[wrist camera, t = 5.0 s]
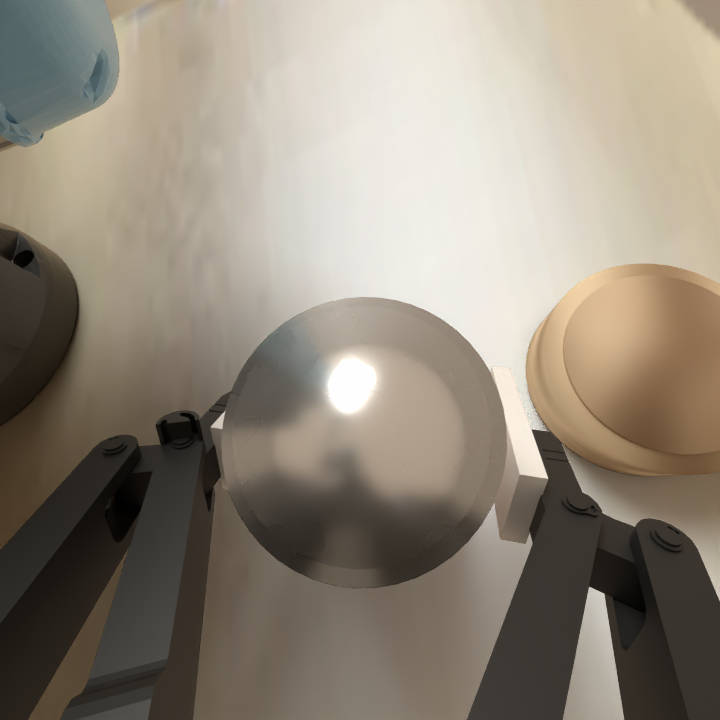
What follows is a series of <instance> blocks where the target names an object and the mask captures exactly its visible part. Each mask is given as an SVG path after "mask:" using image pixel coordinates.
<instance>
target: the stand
mask: <svg viewBox="0 0 720 720" xmlns="http://www.w3.org/2000/svg"><path fill="white" fill-rule="evenodd" d="M526 379H527V385H528V390H529V393H530V396H531V399H532V402H533V404H534V406H535V408H536V410H537V412H538V414H539V415H540V417H541V418H542V420H543V422H544V423H545V424H546V426H547V427H548V428H549V429H550V431H551V432H552V433H553V434H554V435H555V436H556V437H557V438H558V439H559V440H560V441H561V442H562V443H563V444H564V445H565V446H567V447H568V448H569V449H571V450H572V451H573V452H575V453H576V454H578V455H579V456H581V457H583V458H584V459H586V460H588V461H590V462H592V463H594V464H596V465H598V466H600V467H603V468H606V469H609V470H612V471H615V472H620V473H625V474H629V475H640V476H657V475H690V474H708V473H713V472H719V471H720V284H718V283H717V282H715V281H713V280H711V279H709V278H706V277H704V276H702V275H699V274H697V273H694V272H691V271H688V270H685V269H681V268H676V267H672V266H667V265H658V264H630V265H622V266H618V267H613V268H609V269H606V270H603V271H600V272H598V273H596V274H594V275H591V276H589V277H587V278H586V279H584V280H583V281H581V282H580V283H578V284H577V285H576V286H574V287H573V288H572V289H571V290H570V291H569V292H568V293H567V294H566V295H565V296H564V297H563V298H562V300H561V301H560V302H559V303H558V304H557V305H556V307H555V308H554V309H553V310H552V311H551V313H550V314H549V315H548V316H547V317H546V318H545V320H544V321H543V322H542V323H541V324H540V326H539V327H538V329H537V330H536V332H535V333H534V335H533V338H532V340H531V342H530V345H529V348H528V352H527V358H526Z"/></svg>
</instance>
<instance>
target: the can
mask: <svg viewBox="0 0 720 720" xmlns="http://www.w3.org/2000/svg"><path fill="white" fill-rule="evenodd" d="M221 447H222V463H223V468H224V474H225V480H226V483H227V486H228V489H229V492H230V496H231V498H232V501H233V503H234V505H235V507H236V509H237V511H238V513H239V516H240V517H241V519H242V520H243V522H244V523H245V525H246V526H247V528H248V530H249V531H250V532H251V534H252V535H253V536H254V537H255V538H256V539H257V541H258V542H259V543H260V544H261V545H262V546H263V547H264V548H265V549H266V550H267V551H268V552H269V553H271V554H272V555H273V556H274V557H275V558H276V559H277V560H279V561H280V562H282V563H283V564H285V565H286V566H288V567H289V568H291V569H293V570H294V571H296V572H298V573H300V574H302V575H305V576H307V577H309V578H311V579H313V580H317V581H320V582H324V583H327V584H330V585H334V586H342V587H349V588H377V587H383V586H389V585H395V584H399V583H402V582H405V581H408V580H411V579H414V578H417V577H419V576H421V575H423V574H425V573H427V572H429V571H431V570H433V569H435V568H436V567H438V566H439V565H441V564H442V563H443V562H445V561H446V560H448V559H449V558H451V557H452V556H453V555H454V554H455V553H456V552H458V551H459V550H460V549H461V548H462V547H463V546H464V545H465V544H466V543H467V542H468V541H469V540H470V539H471V537H472V536H473V535H474V533H475V532H476V531H477V530H478V528H479V527H480V526H481V525H482V523H483V521H484V519H485V518H486V516H487V514H488V513H489V511H490V509H491V507H492V505H493V503H494V500H495V498H496V496H497V493H498V491H499V488H500V485H501V481H502V477H503V473H504V469H505V462H506V453H507V426H506V420H505V414H504V408H503V404H502V401H501V398H500V395H499V391H498V388H497V386H496V384H495V382H494V379H493V377H492V375H491V373H490V371H489V369H488V368H487V366H486V365H485V363H484V361H483V360H482V358H481V356H480V355H479V354H478V353H477V352H476V350H475V349H474V348H473V347H472V345H471V344H470V343H469V342H468V341H467V340H466V339H465V338H464V337H463V336H462V335H461V334H460V333H459V332H458V331H457V330H455V329H454V328H453V327H451V326H450V325H449V324H447V323H446V322H445V321H443V320H442V319H440V318H438V317H437V316H435V315H433V314H431V313H429V312H428V311H425V310H423V309H421V308H418V307H416V306H413V305H411V304H407V303H403V302H400V301H396V300H390V299H384V298H371V297H359V298H348V299H342V300H337V301H332V302H328V303H325V304H322V305H319V306H316V307H313V308H311V309H309V310H307V311H305V312H303V313H300V314H298V315H297V316H295V317H293V318H292V319H290V320H289V321H287V322H285V323H284V324H283V325H281V326H280V327H279V328H278V329H276V330H275V331H274V332H272V333H271V334H270V335H269V336H268V337H267V338H266V339H265V340H264V341H263V342H262V343H261V344H260V345H259V346H258V348H257V349H256V350H255V351H254V353H253V354H252V355H251V356H250V358H249V359H248V360H247V362H246V364H245V365H244V367H243V369H242V370H241V372H240V373H239V375H238V378H237V380H236V382H235V384H234V386H233V388H232V391H231V394H230V397H229V400H228V403H227V406H226V410H225V415H224V420H223V427H222V440H221Z"/></svg>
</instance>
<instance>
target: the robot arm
mask: <svg viewBox="0 0 720 720" xmlns="http://www.w3.org/2000/svg"><path fill="white" fill-rule="evenodd" d="M118 77H119V52H118V46H117V40H116V36H115V32H114V28H113V24H112V21H111V17H110V15H109V11H108V8H107V6H106V2H105V0H0V152H1V151H4V150H6V149H9V148H11V147H14V146H17V145H19V146H23V147H29V146H32V145H34V144H36V143H38V142H39V141H40V140H41V139H42V138H43V135H44V132H46V131H48V130H50V129H52V128H55V127H57V126H59V125H61V124H63V123H65V122H67V121H70V120H72V119H74V118H76V117H78V116H80V115H82V114H85V113H87V112H89V111H91V110H93V109H95V108H97V107H99V106H101V105H102V104H104V103H105V102H106V101H107V100H108V99H109V97H110V96H111V95H112V93H113V92H114V90H115V87H116V85H117V81H118ZM76 312H77V295H76V288H75V284H74V280H73V278H72V275H71V273H70V271H69V269H68V267H67V266H66V264H65V263H64V262H63V260H62V259H61V258H60V257H59V256H58V255H57V254H55V253H54V252H53V251H51V250H50V249H48V248H47V247H45V246H44V245H42V244H41V243H39V242H38V241H36V240H34V239H33V238H31V237H30V236H28V235H27V234H25V233H23V232H21V231H19V230H17V229H15V228H13V227H11V226H8V225H5V224H2V223H0V424H2V423H3V422H5V421H6V420H8V419H9V418H10V417H12V416H13V415H14V414H16V413H17V412H18V411H19V410H21V409H22V408H23V407H24V406H25V405H26V404H27V403H28V402H29V401H30V400H31V399H32V398H33V397H34V396H35V395H36V394H37V393H38V392H39V391H40V390H41V388H42V387H43V386H44V385H45V383H46V382H47V381H48V380H49V378H50V377H51V375H52V374H53V372H54V371H55V369H56V368H57V366H58V364H59V363H60V361H61V359H62V357H63V355H64V353H65V351H66V349H67V346H68V344H69V341H70V339H71V336H72V332H73V329H74V324H75V319H76ZM491 375H492V377H493V379H494V382H495V384H496V386H497V388H498V391H499V395H500V398H501V401H502V404H503V408H504V414H505V420H506V426H507V453H506V462H505V469H504V473H503V477H502V481H501V485H500V488H499V491H498V493H497V496H496V498H495V500H494V503H495V509H496V516H497V522H498V528H499V534H500V539H502V540H508V541H514V542H519V543H525V544H526V541H527V538H528V535H529V532H530V534H531V538H532V542H533V545H532V548H531V550H530V553H529V556H528V558H527V561H526V564H525V566H524V569H523V572H522V574H521V577H520V580H519V582H518V585H517V588H516V590H515V593H514V596H513V598H512V601H511V604H510V606H509V609H508V612H507V614H506V617H505V620H504V622H503V625H502V628H501V630H500V633H499V636H498V638H497V641H496V644H495V646H494V649H493V652H492V655H491V657H490V660H489V663H488V665H487V668H486V671H485V673H484V676H483V679H482V681H481V684H480V687H479V689H478V692H477V695H476V697H475V700H474V703H473V705H472V708H471V711H470V713H469V716H468V719H467V720H562V719H563V714H564V709H565V704H566V699H567V694H568V689H569V684H570V679H571V674H572V669H573V664H574V659H575V654H576V649H577V644H578V639H579V634H580V629H581V624H582V619H583V613H584V608H585V603H586V598H587V593H588V588H589V587H592V588H594V589H596V590H598V591H600V592H602V593H604V594H605V600H606V606H607V613H608V619H609V625H610V632H611V638H612V644H613V650H614V657H615V663H616V669H617V675H618V682H619V688H620V694H621V701H622V707H623V713H624V719H625V720H720V601H719V599H718V596H717V594H716V592H715V589H714V587H713V585H712V582H711V580H710V577H709V575H708V573H707V570H706V568H705V566H704V563H703V561H702V559H701V556H700V554H699V552H698V549H697V548H696V546H695V545H694V543H693V542H692V540H691V539H690V538H689V537H687V536H686V535H685V534H684V533H683V532H682V531H680V530H679V529H677V528H675V527H674V526H672V525H670V524H668V523H665V522H663V521H660V520H655V519H643V520H640V521H639V522H638V523H637V525H636V526H635V527H633V526H631V525H628V524H626V523H623V522H621V521H618V520H615V519H613V518H611V517H609V516H606V515H604V514H603V513H602V510H601V508H600V507H599V505H598V504H597V503H596V502H595V501H594V500H593V499H592V498H591V497H590V496H588V495H586V494H584V493H582V491H581V488H580V486H579V484H578V482H577V479H576V477H575V475H574V472H573V470H572V468H571V465H570V463H568V459H567V456H566V454H565V452H564V449H563V447H562V445H561V442H560V441H559V440H558V439H557V438H556V437H555V436H554V435H553V434H552V433H551V432H547V431H539V430H532V429H531V427H530V424H529V421H528V418H527V415H526V413H525V410H524V407H523V404H522V401H521V398H520V395H519V392H518V389H517V386H516V384H515V381H514V378H513V375H512V372H511V369H510V368H503V367H494V366H492V369H491ZM230 394H231V392H229V393H227V394H225V395H224V396H222V397H221V398H220V399H219V400H218V401H217V402H216V403H215V405H213V406H212V407H211V408H210V409H209V411H207V412H206V414H205V415H204V416H203V417H202V418H201V419H200V420H199V415H198V414H196V413H195V412H192V411H177V412H173V413H170V414H168V415H165V416H164V417H162V418H161V419H160V420H159V421H158V422H157V423H156V429H157V432H158V436H159V439H160V443H161V445H152V446H139V445H138V441H137V439H136V438H135V437H133V436H130V435H119V436H114V437H111V438H108V439H106V440H104V441H102V442H100V443H99V444H98V445H97V446H96V447H94V448H93V450H92V451H91V452H90V453H89V454H88V455H87V456H86V457H85V458H84V459H83V460H82V462H81V463H80V464H79V465H78V466H77V467H76V468H75V469H74V470H73V471H72V472H71V474H70V475H69V476H68V477H67V478H66V479H65V480H64V481H63V482H62V483H61V485H60V486H59V487H58V488H57V489H56V490H55V491H54V492H53V493H52V494H51V495H50V497H49V498H48V499H47V500H46V501H45V502H44V503H43V504H42V505H41V506H40V507H39V509H38V510H37V511H36V512H35V513H34V514H33V515H32V516H31V517H30V518H29V519H28V521H27V522H26V523H25V524H24V525H23V526H22V527H21V528H20V529H19V530H18V532H17V533H16V534H15V535H14V536H13V537H12V538H11V539H10V540H9V541H8V542H7V544H6V545H5V546H4V547H3V548H2V549H1V550H0V720H28V718H29V717H30V715H31V713H32V711H33V710H34V708H35V706H36V705H37V703H38V701H39V700H40V698H41V696H42V694H43V693H44V691H45V689H46V688H47V686H48V684H49V682H50V681H51V679H52V677H53V676H54V674H55V672H56V671H57V669H58V667H59V665H60V664H61V662H62V660H63V659H64V657H65V655H66V653H67V652H68V650H69V648H70V647H71V645H72V643H73V642H74V640H75V638H76V636H77V635H78V633H79V631H80V630H81V628H82V626H83V624H84V623H85V621H86V619H87V618H88V616H89V614H90V612H91V611H92V609H93V607H94V606H95V604H96V602H97V601H98V599H99V597H100V595H101V594H102V592H103V590H104V589H105V587H106V585H107V583H108V582H109V580H110V578H111V577H112V575H113V573H114V572H115V570H116V568H117V566H118V565H119V563H120V561H121V560H122V558H123V556H124V554H125V553H126V551H127V549H128V548H129V550H128V554H127V557H126V560H125V563H124V567H123V570H122V573H121V576H120V580H119V583H118V586H117V589H116V592H115V596H114V599H113V602H112V605H111V609H110V612H109V615H108V618H107V622H106V625H105V628H104V631H103V635H102V638H101V641H100V644H99V648H98V651H97V654H96V657H95V660H94V664H93V667H92V670H91V673H90V677H89V680H88V682H87V685H86V687H85V689H84V690H83V692H82V693H81V694H79V695H78V696H76V697H74V698H73V699H72V700H71V701H70V702H69V704H68V705H67V707H66V708H65V710H64V713H63V715H62V717H61V720H193V711H194V701H195V691H196V681H197V671H198V661H199V651H200V641H201V631H202V621H203V611H204V601H205V591H206V581H207V571H208V561H209V551H210V541H211V531H212V521H213V511H214V501H215V492H214V487H213V486H214V485H215V484H216V482H217V481H218V479H219V478H220V479H221V485H222V489H224V490H229V489H228V486H227V483H226V480H225V474H224V468H223V463H222V447H221V440H222V427H223V420H224V415H225V410H226V406H227V403H228V400H229V397H230ZM129 546H130V547H129Z"/></svg>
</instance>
